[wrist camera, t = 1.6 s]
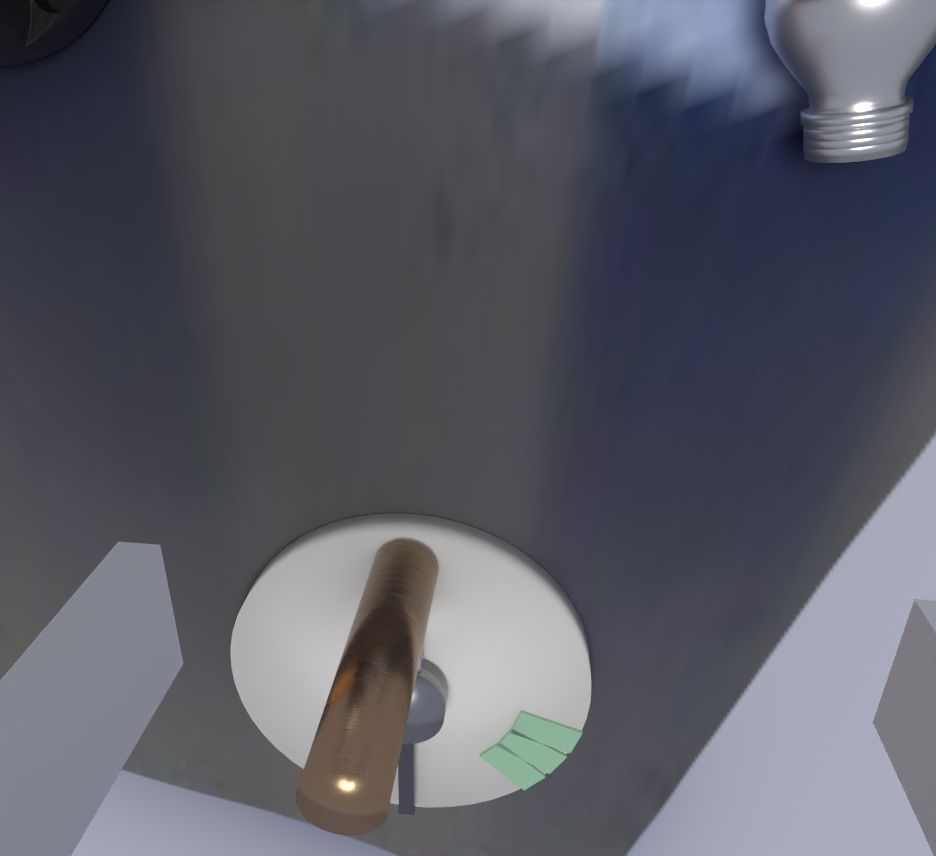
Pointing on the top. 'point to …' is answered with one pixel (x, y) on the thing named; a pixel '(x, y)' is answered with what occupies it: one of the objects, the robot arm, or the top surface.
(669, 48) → the top surface
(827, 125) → the silver metal bottle
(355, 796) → the crank handle
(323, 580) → the round white plate
